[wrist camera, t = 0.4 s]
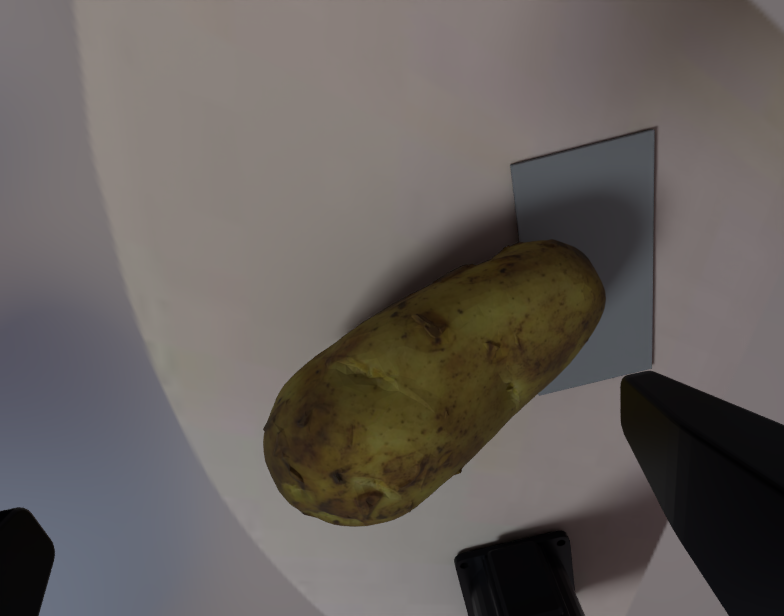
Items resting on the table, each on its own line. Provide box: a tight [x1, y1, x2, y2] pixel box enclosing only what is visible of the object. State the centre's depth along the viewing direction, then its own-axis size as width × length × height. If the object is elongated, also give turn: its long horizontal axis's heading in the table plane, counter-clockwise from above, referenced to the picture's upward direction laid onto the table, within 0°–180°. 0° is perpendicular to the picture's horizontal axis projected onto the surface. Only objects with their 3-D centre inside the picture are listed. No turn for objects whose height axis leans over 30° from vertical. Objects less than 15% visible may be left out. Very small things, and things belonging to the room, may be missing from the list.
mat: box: [510, 129, 654, 396], centre depth 22 cm, size 11×5×1 cm, turn 13°
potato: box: [263, 239, 606, 526], centre depth 19 cm, size 8×13×8 cm, turn 100°
